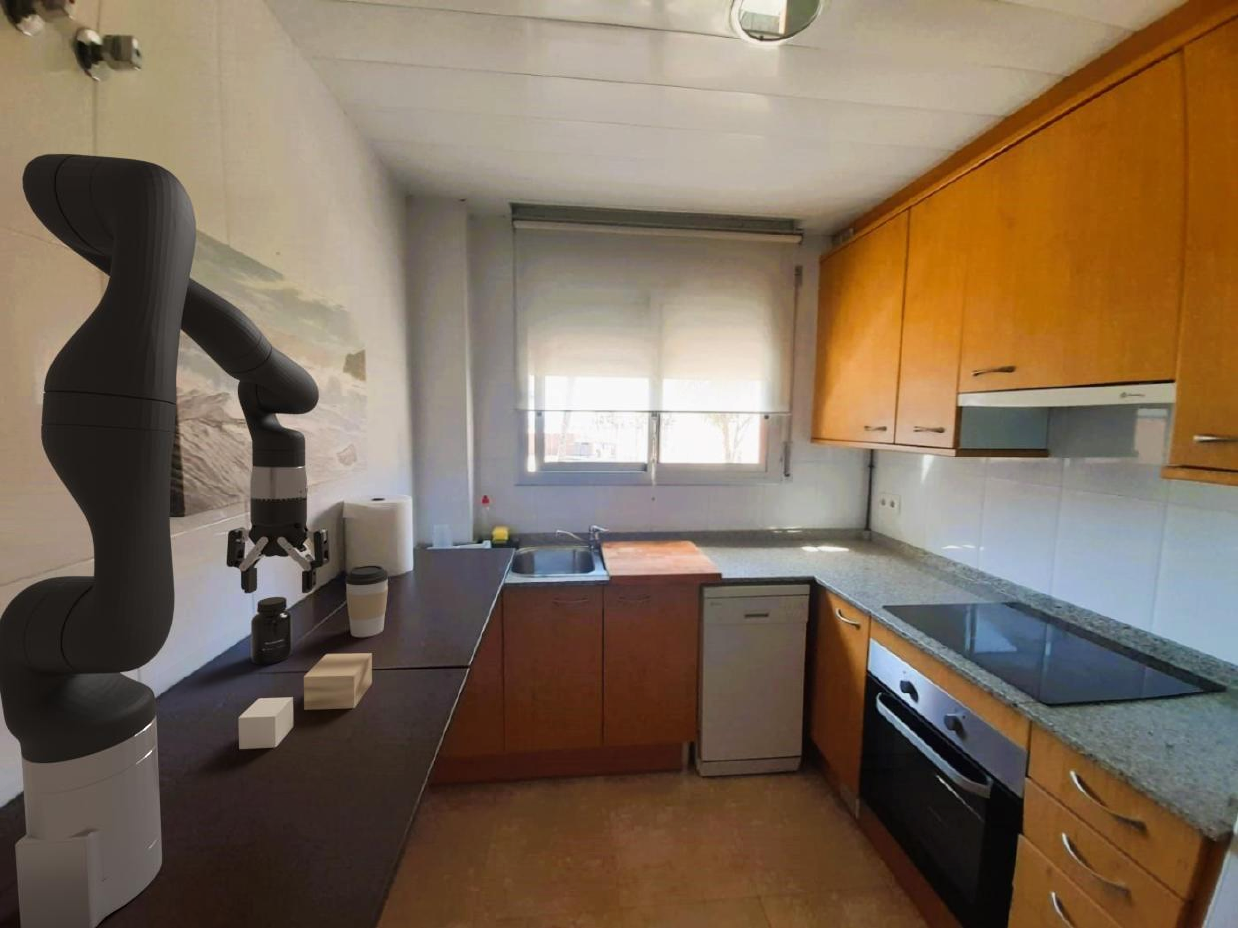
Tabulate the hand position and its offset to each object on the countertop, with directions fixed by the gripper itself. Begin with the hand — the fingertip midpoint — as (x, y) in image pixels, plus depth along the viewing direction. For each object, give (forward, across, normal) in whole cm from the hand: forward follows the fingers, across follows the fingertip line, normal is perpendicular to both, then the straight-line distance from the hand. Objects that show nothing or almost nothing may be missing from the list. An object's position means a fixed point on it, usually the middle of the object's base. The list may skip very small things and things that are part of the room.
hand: (279, 591), depth 79 cm
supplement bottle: (+21, -12, +20) cm, 31 cm away
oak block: (+21, +7, +5) cm, 23 cm away
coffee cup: (+20, +2, +32) cm, 38 cm away
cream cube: (+21, +1, -6) cm, 22 cm away
